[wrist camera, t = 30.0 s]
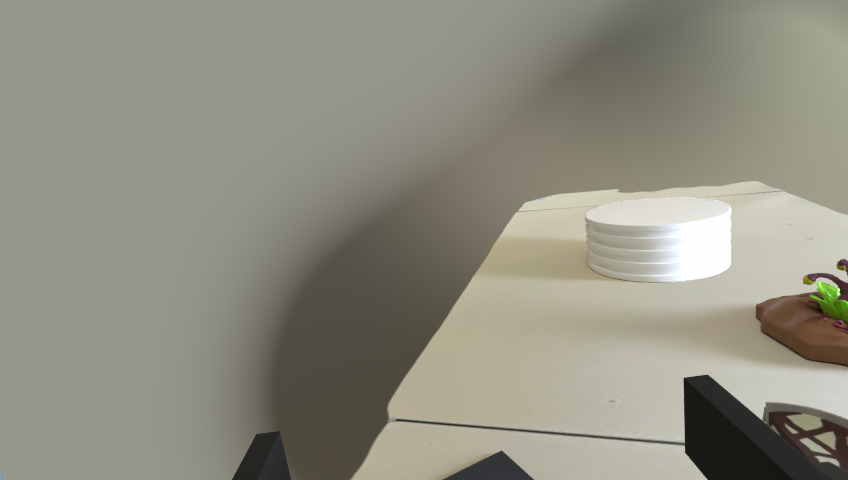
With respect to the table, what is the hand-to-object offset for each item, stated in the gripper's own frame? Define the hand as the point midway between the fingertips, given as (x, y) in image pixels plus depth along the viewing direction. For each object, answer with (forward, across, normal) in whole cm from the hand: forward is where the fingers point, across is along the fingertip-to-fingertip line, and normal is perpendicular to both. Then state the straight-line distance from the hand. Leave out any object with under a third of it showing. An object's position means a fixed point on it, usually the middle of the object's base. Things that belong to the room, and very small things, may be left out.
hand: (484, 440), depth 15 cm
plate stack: (+87, +47, -25) cm, 102 cm away
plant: (+46, +54, -25) cm, 75 cm away
